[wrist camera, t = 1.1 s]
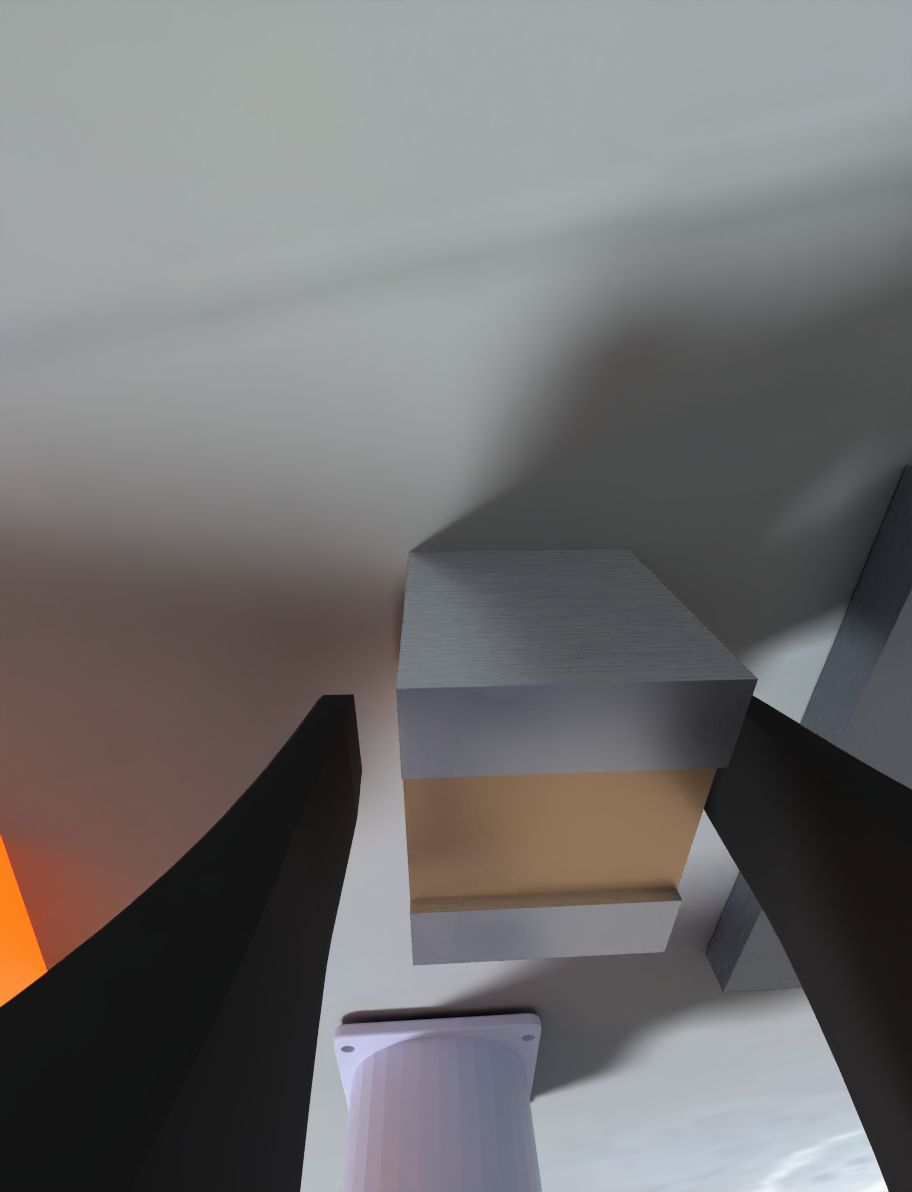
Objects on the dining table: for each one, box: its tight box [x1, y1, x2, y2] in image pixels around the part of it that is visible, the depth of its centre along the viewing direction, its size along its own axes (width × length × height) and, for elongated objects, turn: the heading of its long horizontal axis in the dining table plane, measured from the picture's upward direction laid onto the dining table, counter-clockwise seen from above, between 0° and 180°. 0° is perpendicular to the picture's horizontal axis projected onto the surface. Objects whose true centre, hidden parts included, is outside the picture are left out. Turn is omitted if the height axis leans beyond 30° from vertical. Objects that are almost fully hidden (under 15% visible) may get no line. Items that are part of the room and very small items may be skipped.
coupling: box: [396, 549, 758, 965], centre depth 10 cm, size 6×5×5 cm
